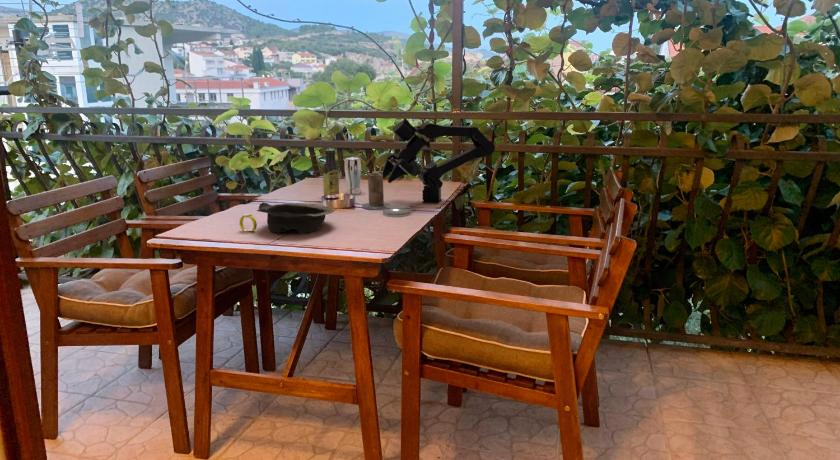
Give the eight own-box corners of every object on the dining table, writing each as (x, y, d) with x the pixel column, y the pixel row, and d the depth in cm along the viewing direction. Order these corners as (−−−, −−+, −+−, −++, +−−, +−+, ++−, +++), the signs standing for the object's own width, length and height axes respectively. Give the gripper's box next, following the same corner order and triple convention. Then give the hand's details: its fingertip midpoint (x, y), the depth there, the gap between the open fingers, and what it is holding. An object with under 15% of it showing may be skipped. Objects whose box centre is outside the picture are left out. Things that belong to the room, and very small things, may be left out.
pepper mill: (380, 203, 233) (379, 170, 230) (383, 206, 229) (382, 172, 226) (369, 204, 232) (367, 171, 228) (372, 207, 228) (370, 173, 224)
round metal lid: (414, 212, 223) (414, 205, 222) (405, 218, 214) (405, 211, 213) (388, 210, 226) (388, 204, 225) (379, 216, 217) (378, 210, 216)
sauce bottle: (331, 200, 242) (329, 151, 237) (320, 198, 246) (317, 150, 241) (343, 197, 247) (340, 149, 242) (332, 195, 251) (329, 148, 246)
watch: (239, 232, 198) (236, 215, 197) (244, 230, 201) (242, 213, 199) (253, 233, 196) (251, 215, 194) (259, 230, 198) (256, 213, 197)
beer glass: (361, 195, 252) (359, 159, 248) (344, 195, 252) (343, 159, 248) (363, 191, 258) (361, 157, 255) (347, 191, 259) (345, 157, 255)
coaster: (394, 204, 234) (394, 203, 234) (384, 210, 224) (384, 209, 224) (368, 202, 237) (368, 201, 237) (357, 209, 227) (357, 207, 227)
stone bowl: (247, 237, 191) (245, 208, 189) (276, 223, 215) (275, 197, 213) (323, 238, 187) (321, 208, 185) (343, 223, 212) (342, 197, 210)
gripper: (434, 166, 224) (407, 198, 224) (418, 159, 241) (393, 189, 241) (413, 147, 220) (386, 179, 219) (398, 141, 237) (373, 171, 236)
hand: (385, 180), depth 229 cm, fingers open, 9 cm apart
